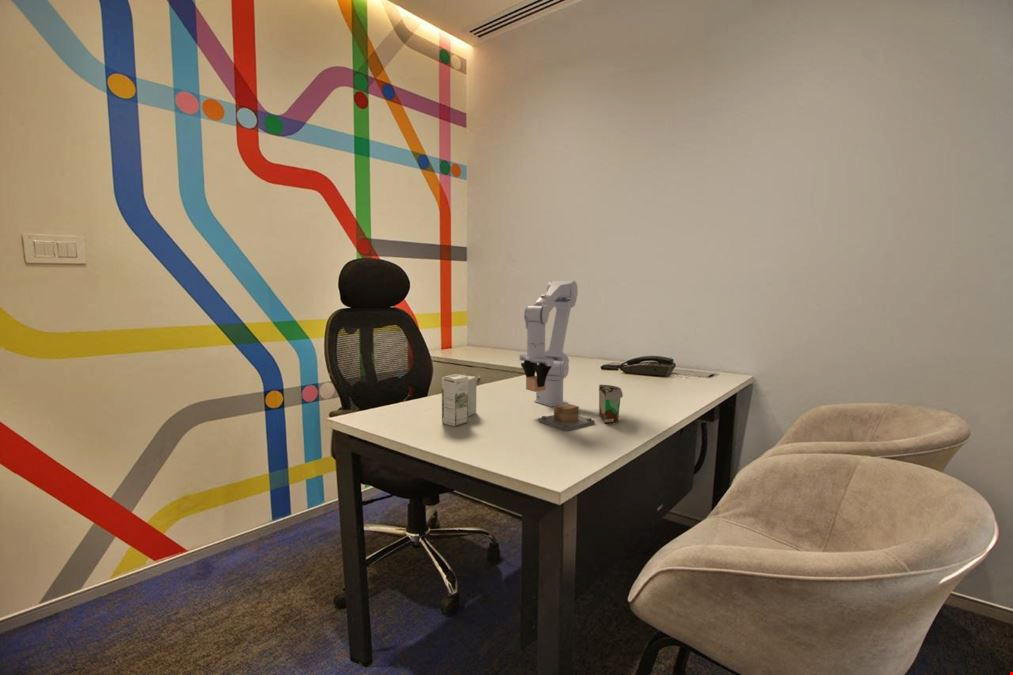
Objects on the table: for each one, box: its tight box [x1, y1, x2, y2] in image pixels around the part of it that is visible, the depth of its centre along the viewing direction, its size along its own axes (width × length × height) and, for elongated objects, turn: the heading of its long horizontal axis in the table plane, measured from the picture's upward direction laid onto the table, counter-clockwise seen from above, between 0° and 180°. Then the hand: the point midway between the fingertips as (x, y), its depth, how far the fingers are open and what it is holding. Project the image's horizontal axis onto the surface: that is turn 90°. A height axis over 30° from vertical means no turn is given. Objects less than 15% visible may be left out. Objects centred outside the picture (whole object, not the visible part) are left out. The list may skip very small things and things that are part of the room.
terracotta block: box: [525, 375, 546, 393], centre depth 156 cm, size 4×4×4 cm
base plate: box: [537, 414, 596, 432], centre depth 147 cm, size 12×12×2 cm
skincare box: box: [466, 375, 477, 418], centre depth 156 cm, size 6×4×12 cm
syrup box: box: [441, 373, 469, 427], centre depth 146 cm, size 6×6×14 cm
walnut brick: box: [553, 403, 580, 423], centre depth 147 cm, size 4×6×4 cm
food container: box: [598, 384, 624, 425], centre depth 149 cm, size 12×6×10 cm, turn 179°
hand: (535, 385), depth 156 cm, fingers closed on terracotta block, 4 cm apart
